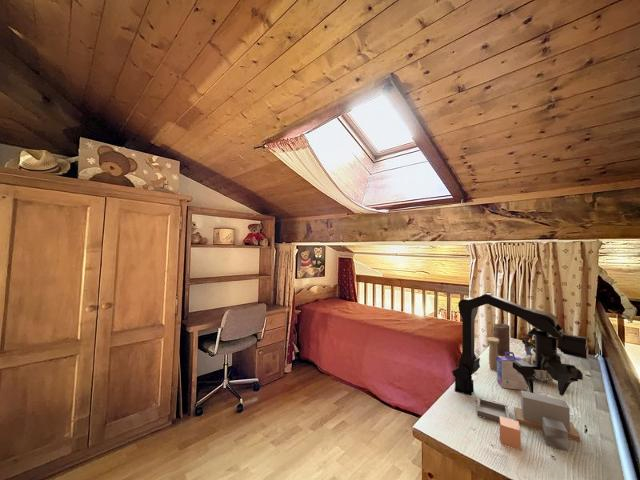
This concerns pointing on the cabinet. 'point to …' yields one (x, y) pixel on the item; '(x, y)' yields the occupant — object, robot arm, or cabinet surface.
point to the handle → (493, 352)
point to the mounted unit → (544, 412)
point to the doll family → (528, 343)
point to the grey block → (555, 434)
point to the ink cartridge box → (509, 373)
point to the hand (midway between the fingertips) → (546, 394)
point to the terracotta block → (510, 433)
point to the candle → (502, 338)
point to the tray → (491, 409)
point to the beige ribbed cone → (539, 374)
